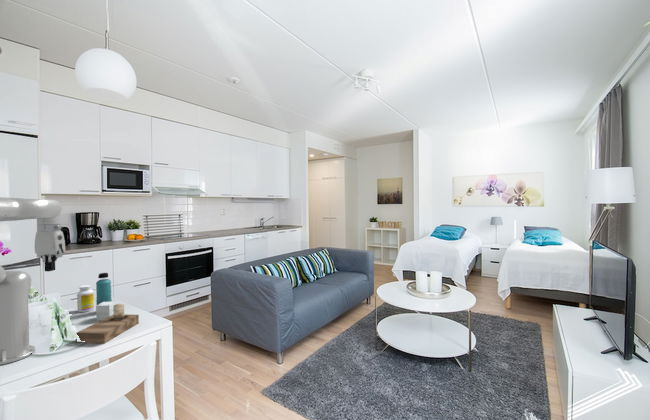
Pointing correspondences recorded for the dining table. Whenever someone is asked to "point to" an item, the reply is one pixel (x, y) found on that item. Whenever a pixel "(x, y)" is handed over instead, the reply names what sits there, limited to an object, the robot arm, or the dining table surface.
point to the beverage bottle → (103, 289)
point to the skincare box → (105, 310)
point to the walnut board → (107, 329)
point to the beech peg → (118, 312)
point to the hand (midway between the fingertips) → (50, 270)
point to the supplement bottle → (85, 299)
